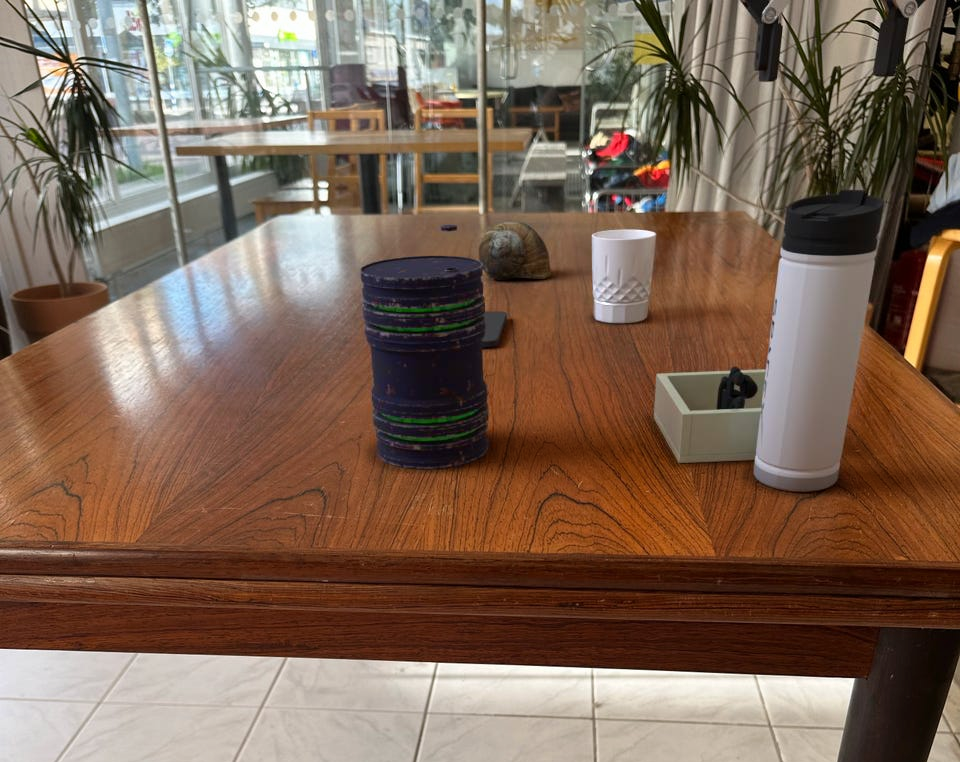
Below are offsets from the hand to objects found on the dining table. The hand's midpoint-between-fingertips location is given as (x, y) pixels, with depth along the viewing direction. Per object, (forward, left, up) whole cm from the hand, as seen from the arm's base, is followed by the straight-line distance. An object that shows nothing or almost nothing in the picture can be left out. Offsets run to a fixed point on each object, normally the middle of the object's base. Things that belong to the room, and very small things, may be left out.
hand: (825, 78), depth 78 cm
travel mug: (+6, +22, -26) cm, 35 cm away
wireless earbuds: (+8, +12, -26) cm, 29 cm away
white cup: (+11, -34, -26) cm, 44 cm away
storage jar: (+34, +12, -26) cm, 45 cm away
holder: (+8, +12, -26) cm, 30 cm away
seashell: (+23, -64, -26) cm, 73 cm away
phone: (+30, -29, -26) cm, 49 cm away
